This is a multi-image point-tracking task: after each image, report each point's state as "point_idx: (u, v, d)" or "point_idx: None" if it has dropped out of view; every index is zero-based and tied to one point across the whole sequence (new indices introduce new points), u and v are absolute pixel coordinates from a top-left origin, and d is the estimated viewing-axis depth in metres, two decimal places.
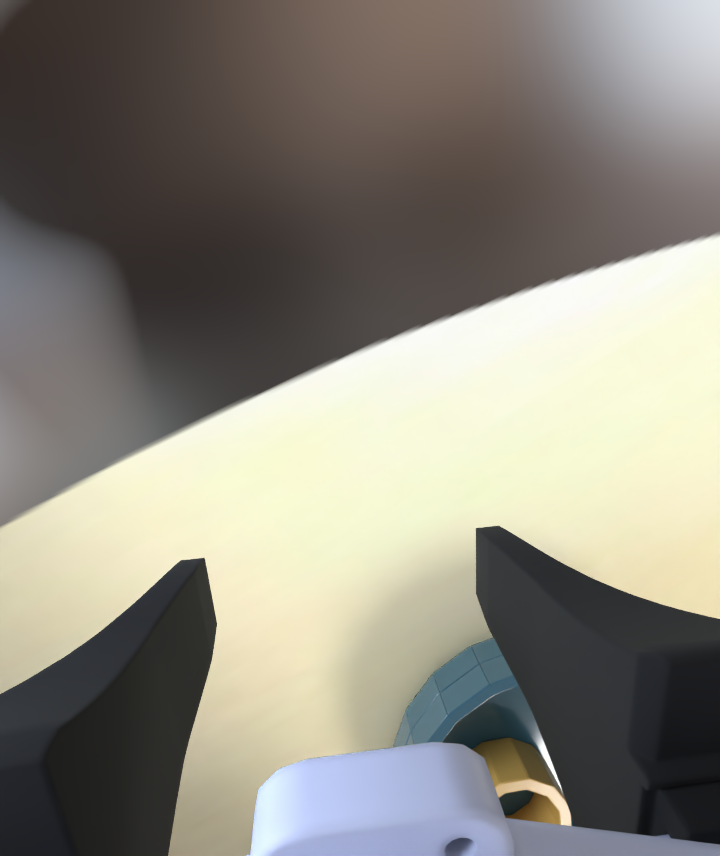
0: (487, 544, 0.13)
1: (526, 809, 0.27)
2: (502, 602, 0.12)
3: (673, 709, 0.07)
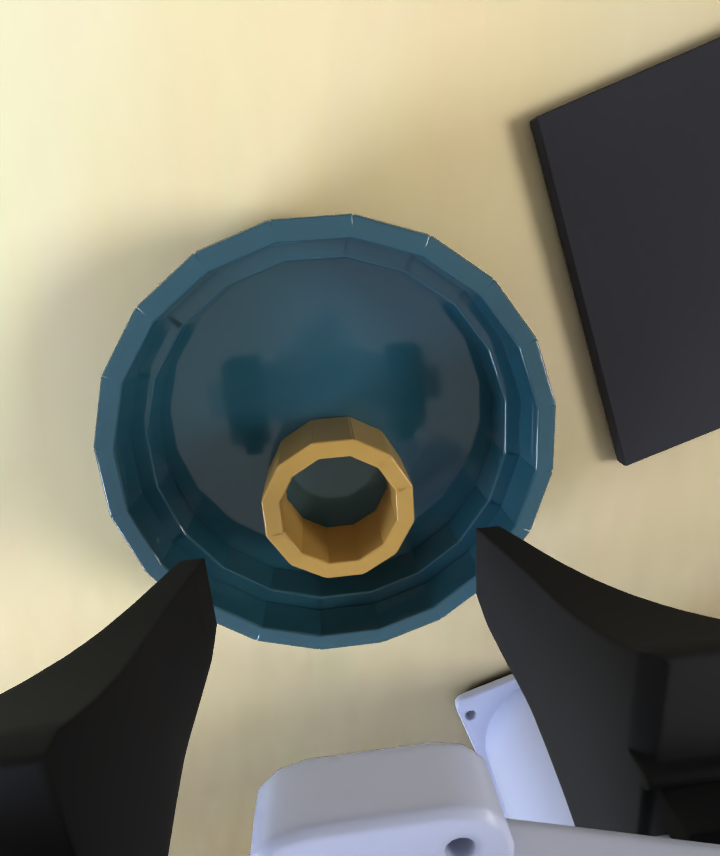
0: (487, 544, 0.13)
1: None
2: (502, 602, 0.12)
3: (673, 709, 0.07)
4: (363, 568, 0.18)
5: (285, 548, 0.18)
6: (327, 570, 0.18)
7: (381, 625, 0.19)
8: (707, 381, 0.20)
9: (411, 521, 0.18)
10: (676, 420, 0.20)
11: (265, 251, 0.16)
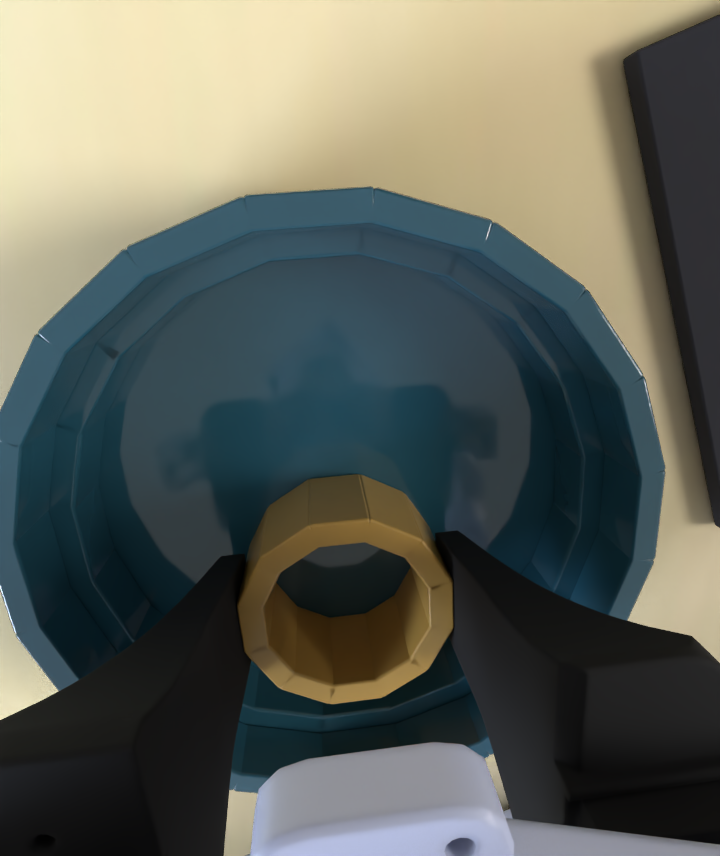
0: (443, 549, 0.13)
1: None
2: (456, 607, 0.12)
3: (594, 719, 0.07)
4: (381, 691, 0.13)
5: (271, 667, 0.12)
6: (331, 694, 0.13)
7: None
8: None
9: (450, 628, 0.13)
10: None
11: (240, 246, 0.11)
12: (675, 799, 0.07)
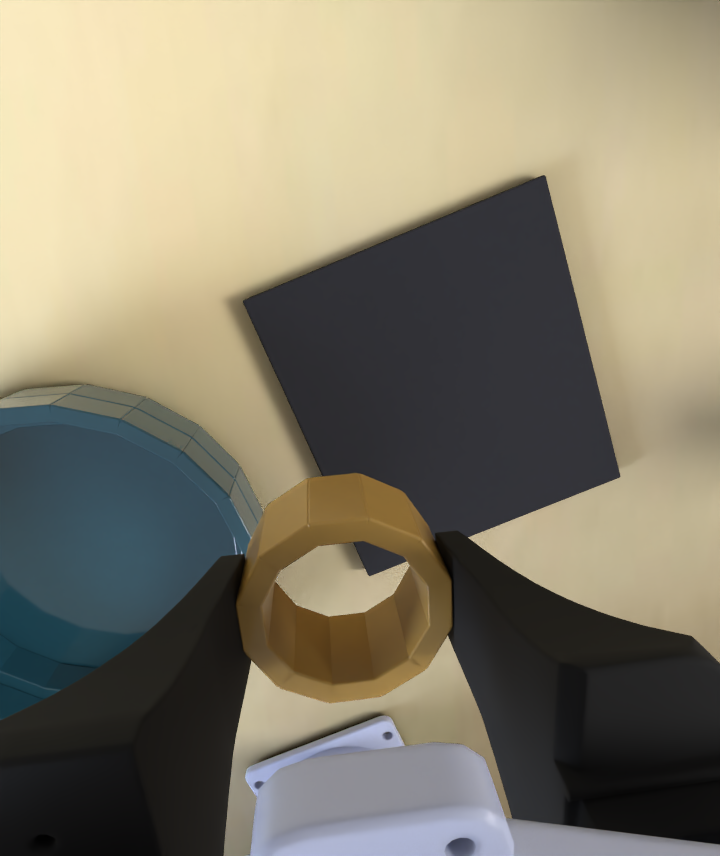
0: (443, 549, 0.13)
1: None
2: (456, 608, 0.12)
3: (594, 720, 0.07)
4: (380, 690, 0.13)
5: (270, 666, 0.12)
6: (330, 693, 0.13)
7: None
8: (431, 506, 0.23)
9: (449, 627, 0.13)
10: None
11: None
12: (675, 799, 0.07)
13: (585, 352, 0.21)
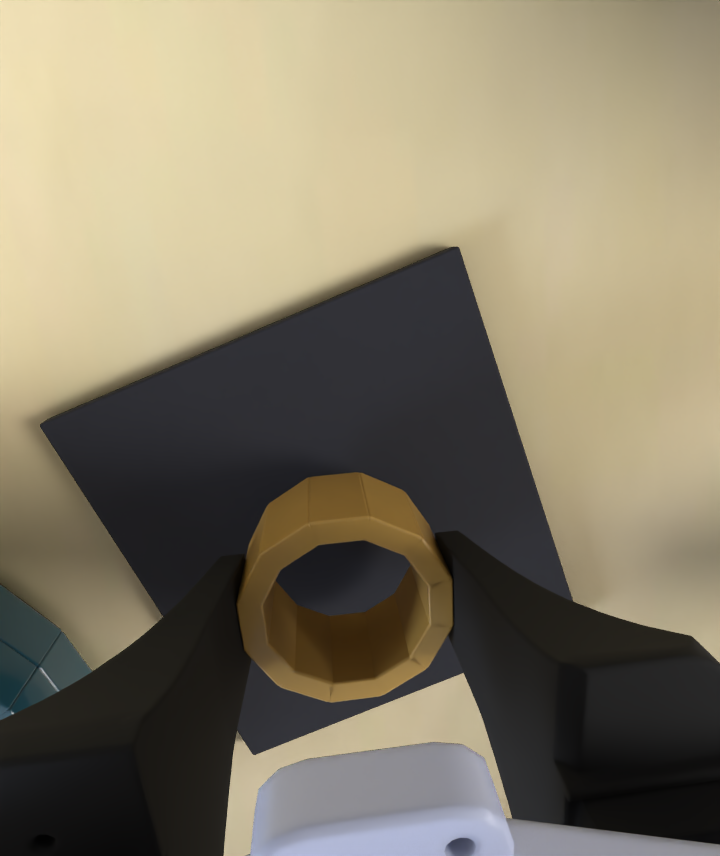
0: (443, 549, 0.13)
1: None
2: (456, 607, 0.12)
3: (594, 720, 0.07)
4: (381, 689, 0.13)
5: (271, 666, 0.12)
6: (330, 693, 0.13)
7: None
8: None
9: (449, 626, 0.13)
10: (302, 710, 0.18)
11: None
12: (675, 799, 0.07)
13: (527, 476, 0.16)
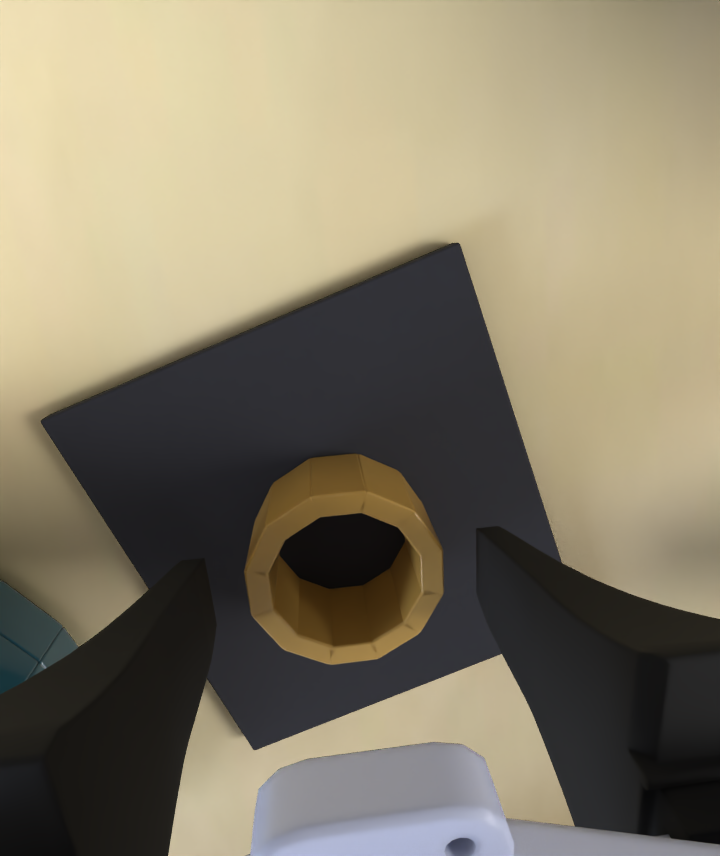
0: (487, 544, 0.13)
1: None
2: (502, 602, 0.12)
3: (673, 709, 0.07)
4: (377, 652, 0.14)
5: (276, 629, 0.14)
6: (330, 655, 0.14)
7: None
8: (330, 667, 0.17)
9: (440, 594, 0.14)
10: (303, 705, 0.18)
11: None
12: None
13: (527, 473, 0.16)
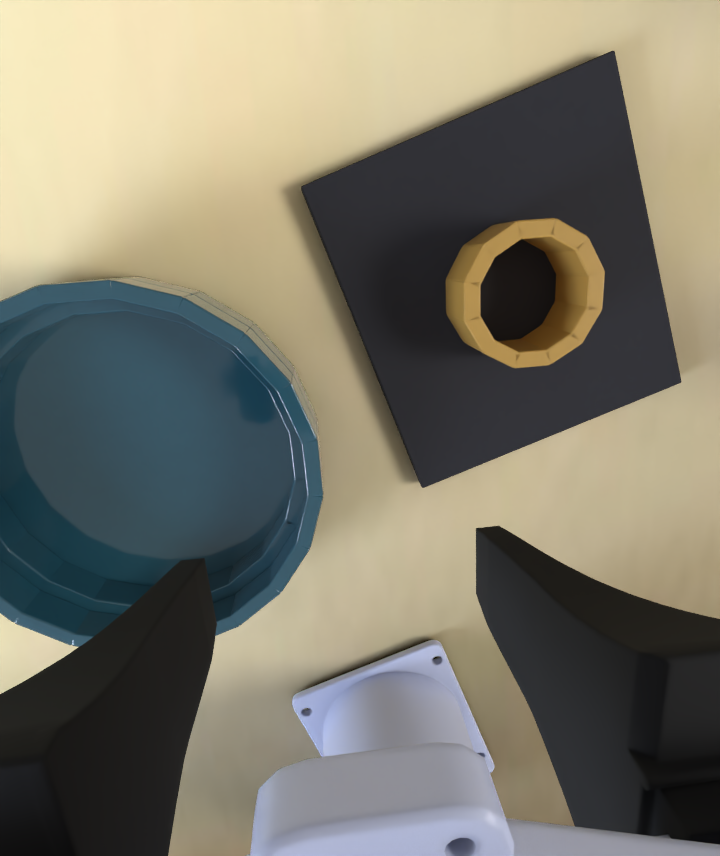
0: (487, 544, 0.13)
1: (558, 281, 0.21)
2: (502, 602, 0.12)
3: (673, 709, 0.07)
4: (550, 358, 0.19)
5: (480, 334, 0.19)
6: (516, 359, 0.19)
7: None
8: (488, 413, 0.22)
9: (599, 309, 0.19)
10: (464, 447, 0.23)
11: (53, 307, 0.18)
12: None
13: (650, 246, 0.21)
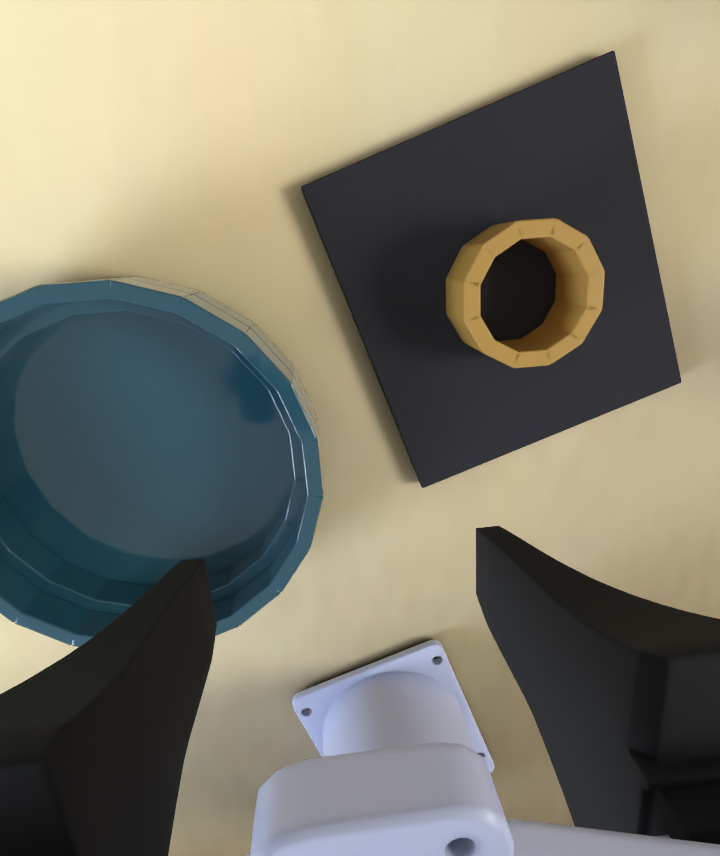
0: (487, 544, 0.13)
1: (558, 281, 0.21)
2: (502, 602, 0.12)
3: (673, 709, 0.07)
4: (550, 358, 0.19)
5: (480, 334, 0.19)
6: (516, 359, 0.19)
7: None
8: (488, 413, 0.22)
9: (599, 309, 0.19)
10: (464, 447, 0.23)
11: (53, 307, 0.18)
12: None
13: (650, 246, 0.21)
